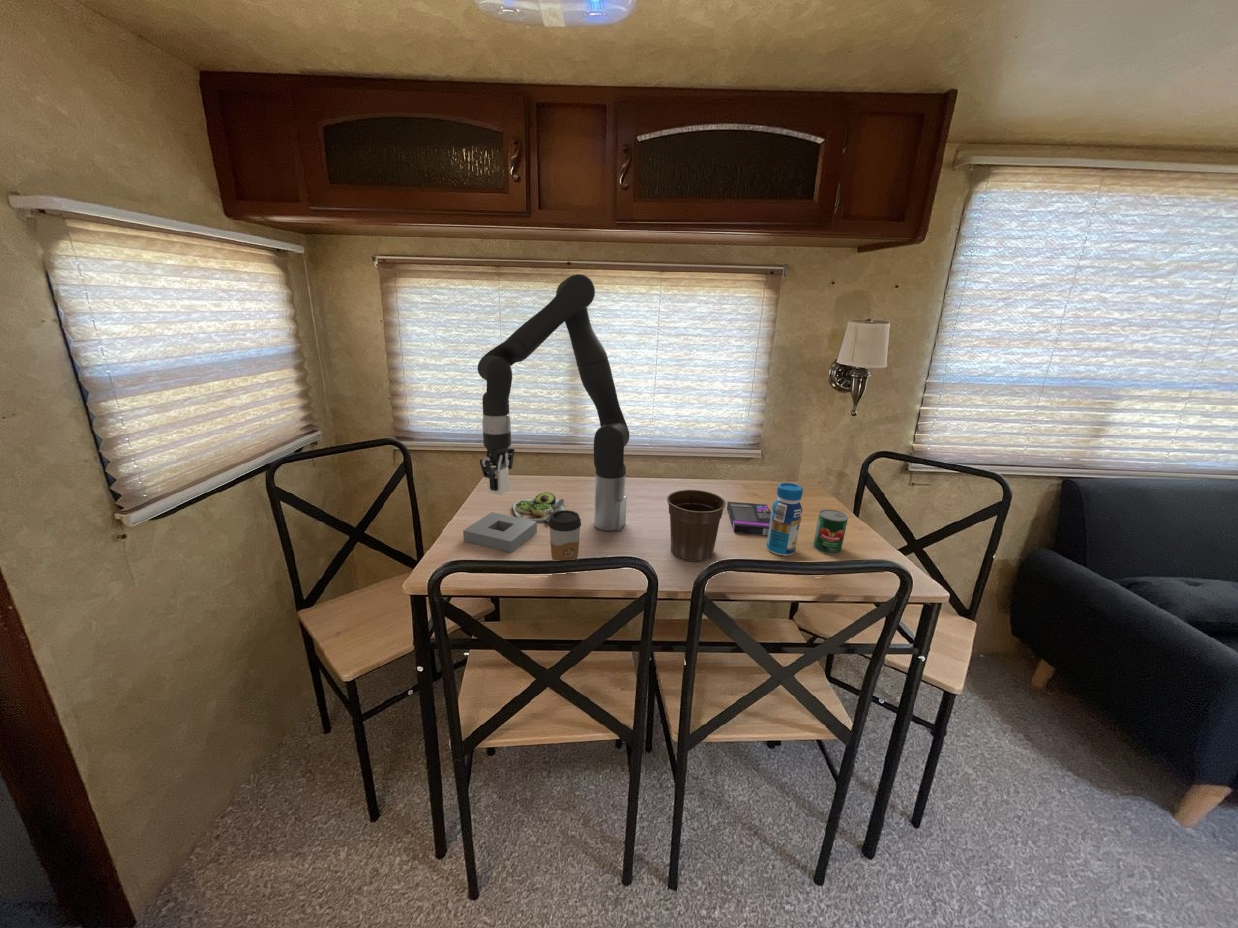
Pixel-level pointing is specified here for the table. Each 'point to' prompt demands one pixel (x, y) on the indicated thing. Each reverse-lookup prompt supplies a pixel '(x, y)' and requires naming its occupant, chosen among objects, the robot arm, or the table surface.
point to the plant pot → (694, 523)
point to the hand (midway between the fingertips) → (499, 487)
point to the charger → (501, 481)
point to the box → (749, 517)
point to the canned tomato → (830, 531)
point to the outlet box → (500, 532)
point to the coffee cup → (564, 535)
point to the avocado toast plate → (539, 507)
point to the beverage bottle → (785, 520)
